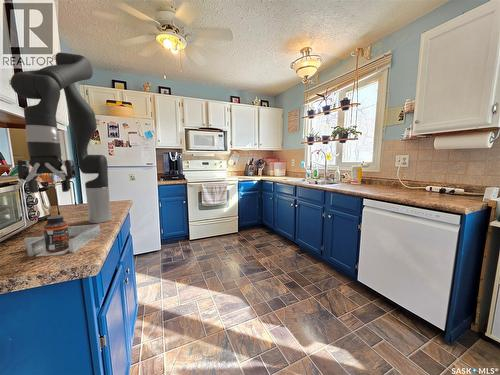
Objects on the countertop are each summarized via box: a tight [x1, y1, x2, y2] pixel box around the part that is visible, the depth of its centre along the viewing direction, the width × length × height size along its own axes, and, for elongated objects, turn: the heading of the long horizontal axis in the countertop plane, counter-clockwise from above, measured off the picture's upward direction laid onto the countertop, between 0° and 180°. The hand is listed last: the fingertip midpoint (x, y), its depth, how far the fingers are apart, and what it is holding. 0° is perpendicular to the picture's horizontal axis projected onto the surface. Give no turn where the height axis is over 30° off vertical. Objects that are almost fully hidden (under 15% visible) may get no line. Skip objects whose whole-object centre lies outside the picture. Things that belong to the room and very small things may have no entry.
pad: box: [35, 248, 69, 257], centre depth 70 cm, size 8×8×1 cm
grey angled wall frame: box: [23, 224, 101, 257], centre depth 75 cm, size 18×17×4 cm
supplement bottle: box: [43, 215, 70, 252], centre depth 69 cm, size 6×6×11 cm
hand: (50, 192), depth 67 cm, fingers open, 8 cm apart
